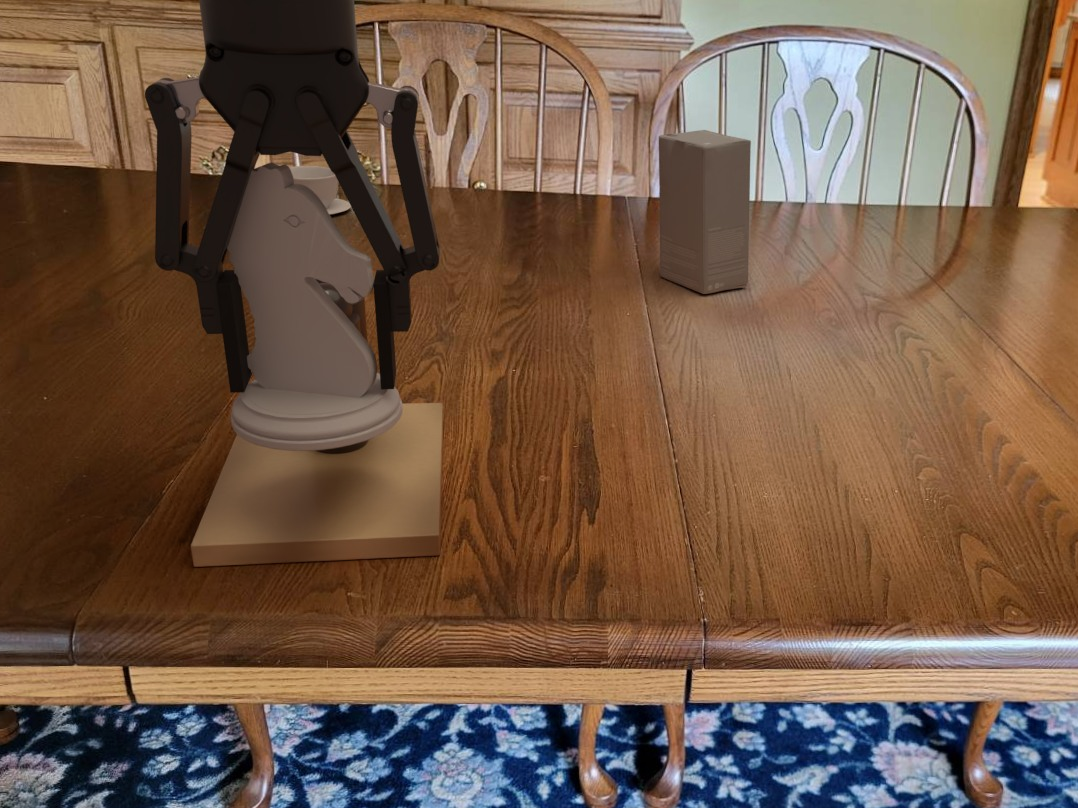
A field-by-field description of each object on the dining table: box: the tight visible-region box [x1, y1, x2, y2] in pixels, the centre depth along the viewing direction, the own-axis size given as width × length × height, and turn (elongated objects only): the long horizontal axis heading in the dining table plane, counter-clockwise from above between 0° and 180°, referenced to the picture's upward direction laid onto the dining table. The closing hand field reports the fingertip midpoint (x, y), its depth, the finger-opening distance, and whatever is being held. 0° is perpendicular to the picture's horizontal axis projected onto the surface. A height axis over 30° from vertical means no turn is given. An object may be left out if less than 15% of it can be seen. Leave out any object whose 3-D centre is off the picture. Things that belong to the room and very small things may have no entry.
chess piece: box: [227, 162, 403, 451], centre depth 63 cm, size 10×10×15 cm
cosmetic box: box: [658, 129, 752, 295], centre depth 117 cm, size 8×7×16 cm
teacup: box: [288, 165, 352, 215], centre depth 137 cm, size 10×10×5 cm
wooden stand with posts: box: [190, 279, 444, 568], centre depth 71 cm, size 14×20×13 cm
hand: (316, 381), depth 66 cm, fingers closed on chess piece, 8 cm apart
